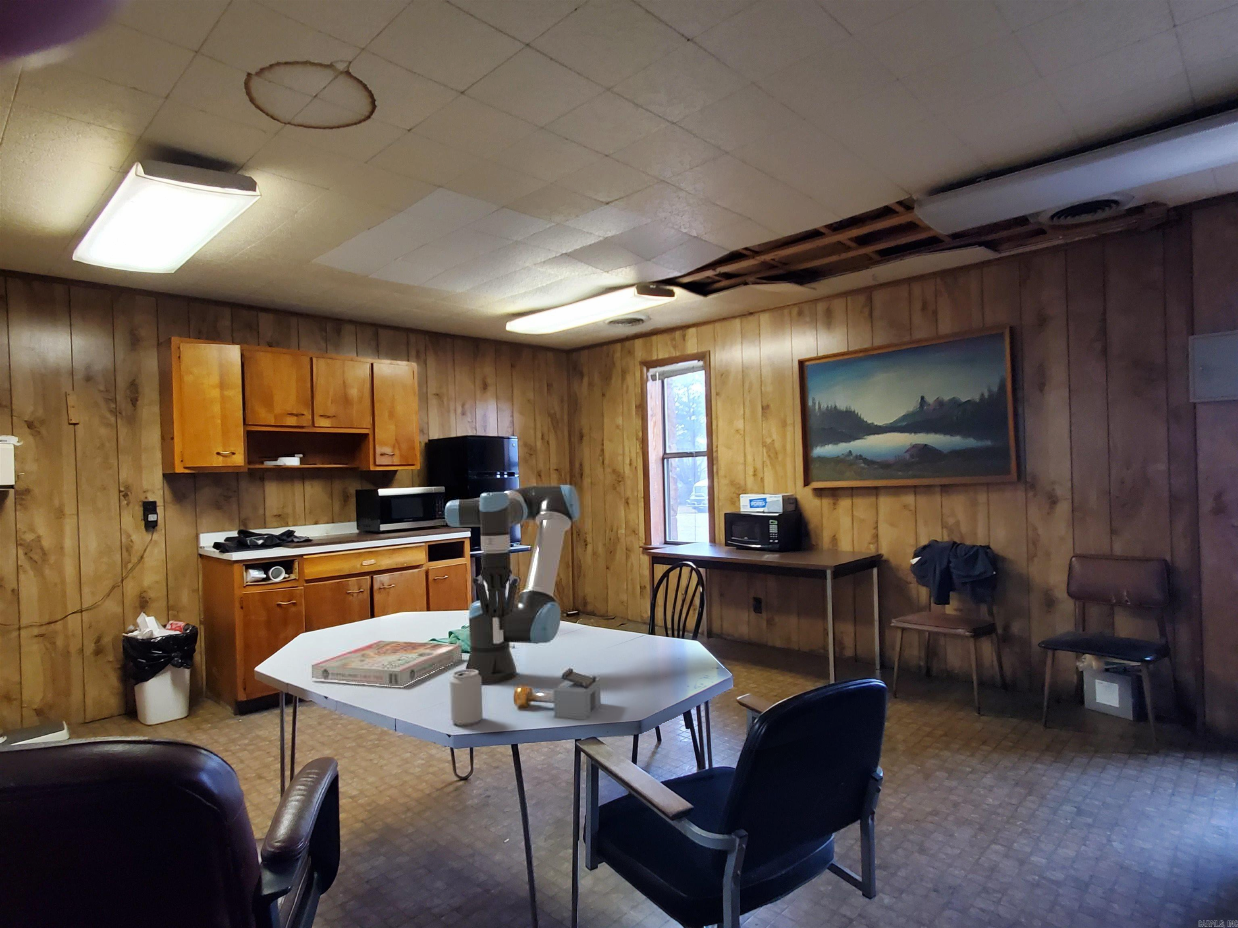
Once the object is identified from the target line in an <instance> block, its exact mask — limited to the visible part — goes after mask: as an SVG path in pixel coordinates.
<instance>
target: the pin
mask: <svg viewBox="0 0 1238 928" xmlns="http://www.w3.org/2000/svg"><path fill="white" fill-rule="evenodd" d="M532 689H533V688H532V687H531V686H528V685H527V686H526V685H517V686H516V687H515V689H514V692H513V705H514V706H516V707H525V708H528V707H530V705H531V703H532V702H533V703H545V704H548V703H549V704H554V692H543V691H542V692H540V691H533V690H532Z"/></svg>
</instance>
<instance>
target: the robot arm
mask: <svg viewBox="0 0 1238 928" xmlns="http://www.w3.org/2000/svg"><path fill="white" fill-rule="evenodd" d="M580 508H581V507H580V500H579V495H578V492H577V491H576V487H574V486H573V485H570V484H560V485H559V484H558V485H529V486H525V487H524V486H523V487H519V488H515V489H511V490H506V491H495V492H483V493H481V494H480V497H477V498H470V499H469V498H468V499H454V500H450V501H448V502H447V503H446V505H445V509H444V518H445V522H446V523H447V525H448V526H449V527H451V528H452V527H454V528H455V527H456V528H463V527H464V528H465V527H466V528H467V527H480V550H481V551H482V553H481V554H480V559H481V561H480V562H481V570H480V575H478V576H477V577H475V578H473V579H472V583H473V584H474V586H475V588H476V592H477V596H478V600H476V601H474V602H472V603H471V604H470V605H469V608H468V609H469V610H468V626H469V627H468V630H469V631H468V632H469V655H468V658H467V659H468V660H467V662H466V665H465V669H474V670H477V671H479V673H478V674H479V675H480V676H481V683H482V685H490V684H492V685H493V684H498V683H499V684H500V683H503V682H507V681H508V682H509V681H510V680H513V679H514V678H516V676H517V665H516V662H515V660H514V657H513V655H512V651H511V649H510V648H511V647H510V645H511V644H510V643H520V644H536V645H537V644H546V643H550V642H551V641H552V640H554V639H555V637H556V636H557V634H558V632H559V628H560V625H561V619H562V618H561V616H562V615H561V614H562V613H561V612H562V611H561V607H560V604H558V603H557V602H558V601H557V598H556V597H555V596H554V591H555V586H556V581H557V576H558V570H559V566H560V565H559V564H560V559H561V554H562V548H563V543H564V539H565V532H566V531H568V530H569V529H570V528H571V525H572V521H578V520H579V517H580V514H581V513H580V512H581V510H580ZM525 521H529V522H532V521H533V522H536V524H537V526H538V529H537V532H536V536H535V537H536V538H535V542H534V545H533V551H532V556H531V560H530V564H529V568H528V574H527V579H526V583H525V587H524V590H522V591H520V592H519V593H518V596H517V600H516V595H517V591H518V586H519V585H520V583H521V581H522V580H521V579H522V578H521V577H517V576H515V575H514V574H513V571H512V569H511V563H512V562H511V559H512V558H511V552H510V551H509V550H510V549H511V538H510V537H511V536H510V535H511V532H510V526H511V527H512V526H517V525H520V524H522V523H523V522H525ZM508 582H509V587H508V590H507V584H508ZM485 584H486V585H487V586H486V585H485ZM506 591H508V592H506ZM487 593H488V594H487ZM506 593H507V594H506ZM515 600H516V601H515Z"/></svg>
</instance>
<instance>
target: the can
mask: <svg viewBox="0 0 1238 928" xmlns="http://www.w3.org/2000/svg"><path fill="white" fill-rule="evenodd" d="M478 673H479V671H477V670H474V669H466V668H465V669H460V670H455V671H454V672H453V673H452V676H451V678H450V680H449V686H450V687H449V688H450V690H449V693H450V720H451V721H452V723H454V725H456V724H457V725H456V726H460V725H467V726H472V725H471V724H473V725H475V723H476V724H478V723H479V722H480V720H481V719H483V691H482V685H483V684H482V683H481V676H480V675H479V674H478Z"/></svg>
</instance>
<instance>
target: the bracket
mask: <svg viewBox="0 0 1238 928" xmlns="http://www.w3.org/2000/svg"><path fill="white" fill-rule="evenodd" d="M553 693H554V703H553V709H554V710H553V714H554V715H553V716H554V718H565V719H578V720H586V719H587V718H588V717H589V716H590V715H591V712H592V711H591V710H592V709H597V708H598V707H599V706H600V705H601V704H602V698H601V678H600V677H596V681H595V682H593V683H592V684H590V685H589V686H588V688H584V687H583V686H582V685H579V684H576V683H572V682H569V681H566V680H564V681H563V682H562V683H560V684H559V685H558V686H557V687H556V688H555V689H553Z"/></svg>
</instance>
